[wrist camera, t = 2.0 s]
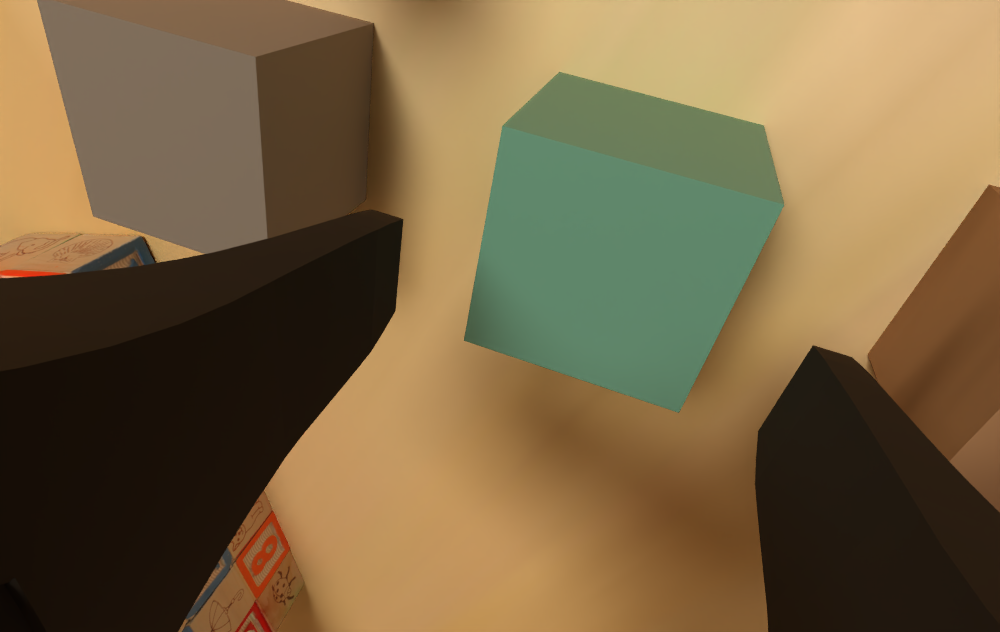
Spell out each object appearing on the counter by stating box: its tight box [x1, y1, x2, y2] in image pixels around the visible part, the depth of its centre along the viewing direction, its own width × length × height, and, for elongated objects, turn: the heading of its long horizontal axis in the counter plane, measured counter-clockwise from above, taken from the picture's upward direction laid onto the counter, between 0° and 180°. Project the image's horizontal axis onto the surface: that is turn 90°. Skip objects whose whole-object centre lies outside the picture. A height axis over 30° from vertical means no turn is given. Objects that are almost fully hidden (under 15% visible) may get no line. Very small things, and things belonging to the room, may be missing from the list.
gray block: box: [37, 0, 374, 254], centre depth 15 cm, size 5×5×5 cm
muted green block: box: [464, 72, 784, 413], centre depth 14 cm, size 5×5×5 cm
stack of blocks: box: [0, 233, 304, 632], centre depth 23 cm, size 21×6×12 cm, turn 7°
